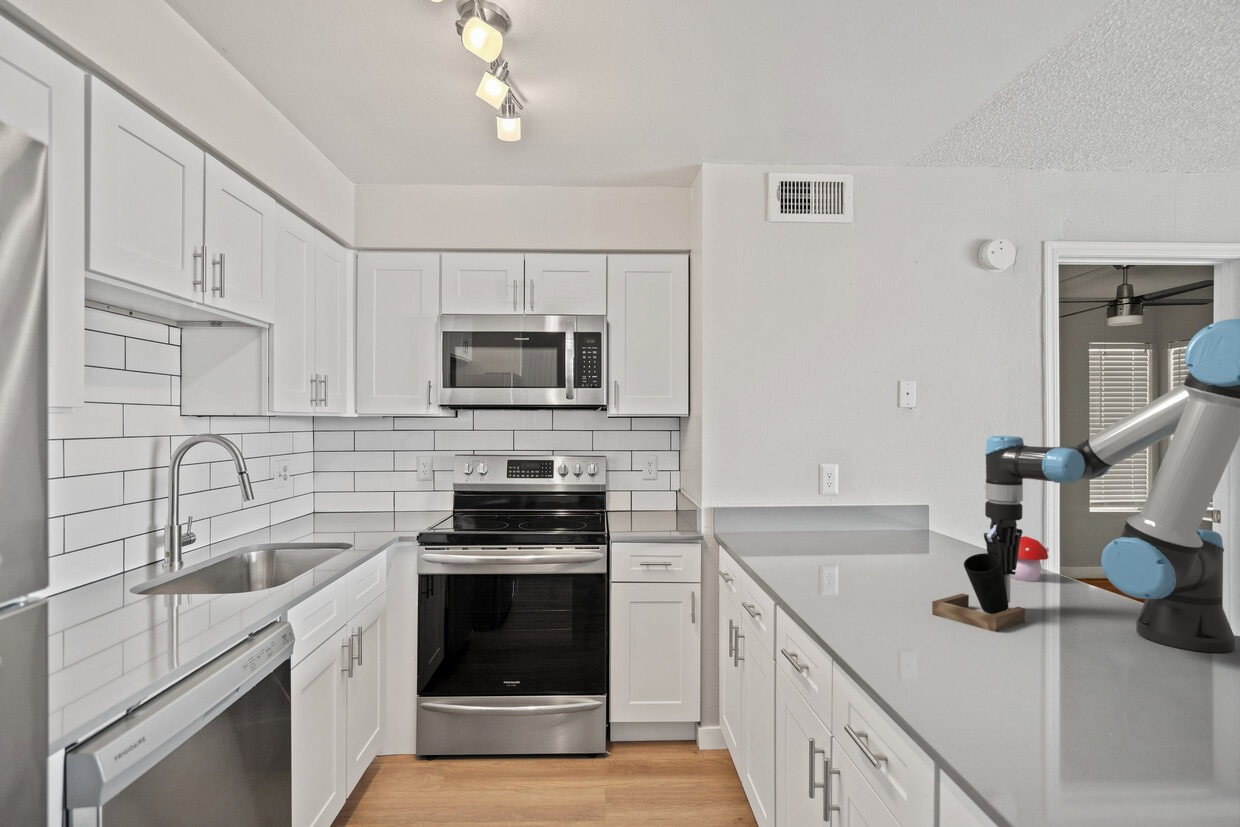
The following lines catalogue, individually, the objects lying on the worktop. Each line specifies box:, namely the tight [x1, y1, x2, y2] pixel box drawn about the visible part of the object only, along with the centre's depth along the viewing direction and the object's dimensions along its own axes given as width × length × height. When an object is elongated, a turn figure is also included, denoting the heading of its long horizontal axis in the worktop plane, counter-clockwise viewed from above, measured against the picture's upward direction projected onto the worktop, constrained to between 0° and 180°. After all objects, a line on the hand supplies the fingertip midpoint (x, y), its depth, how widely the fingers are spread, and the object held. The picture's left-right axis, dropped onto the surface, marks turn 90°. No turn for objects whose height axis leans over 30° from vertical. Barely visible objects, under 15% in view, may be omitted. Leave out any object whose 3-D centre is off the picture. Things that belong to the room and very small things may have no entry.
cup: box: [963, 552, 1009, 614], centre depth 148 cm, size 8×8×12 cm
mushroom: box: [1010, 535, 1050, 583], centre depth 181 cm, size 11×11×12 cm
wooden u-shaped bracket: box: [931, 593, 1026, 633], centre depth 145 cm, size 14×12×3 cm
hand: (1002, 601), depth 152 cm, fingers closed
